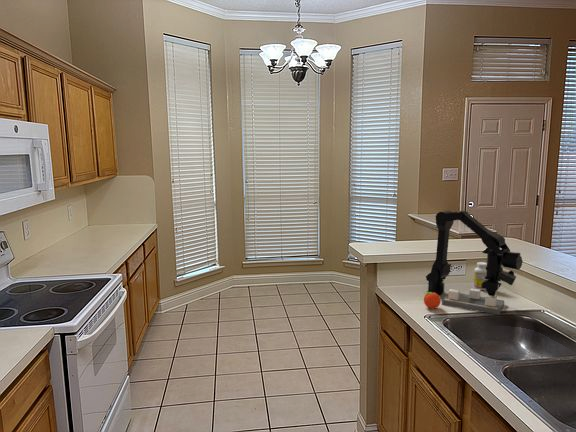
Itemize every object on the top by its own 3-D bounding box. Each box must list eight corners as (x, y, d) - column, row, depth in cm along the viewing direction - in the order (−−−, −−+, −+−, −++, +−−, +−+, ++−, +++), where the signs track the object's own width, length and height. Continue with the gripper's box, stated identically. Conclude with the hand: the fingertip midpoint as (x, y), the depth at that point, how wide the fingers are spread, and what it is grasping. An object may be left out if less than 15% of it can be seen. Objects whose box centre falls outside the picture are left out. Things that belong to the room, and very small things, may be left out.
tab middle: (469, 297, 193) (469, 290, 192) (470, 295, 195) (471, 288, 195) (478, 299, 191) (479, 291, 190) (480, 297, 193) (480, 289, 192)
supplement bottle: (475, 285, 217) (476, 260, 216) (489, 288, 214) (491, 262, 212) (472, 289, 212) (473, 263, 210) (486, 291, 208) (488, 265, 206)
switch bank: (441, 304, 191) (442, 299, 191) (450, 295, 203) (450, 291, 203) (498, 314, 179) (499, 309, 178) (504, 304, 190) (504, 300, 190)
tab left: (448, 298, 192) (448, 290, 192) (450, 296, 195) (450, 288, 194) (457, 300, 190) (458, 292, 189) (459, 298, 192) (459, 290, 192)
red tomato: (419, 309, 186) (420, 293, 185) (422, 303, 192) (422, 288, 191) (439, 311, 183) (439, 295, 182) (441, 306, 189) (441, 290, 188)
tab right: (484, 304, 184) (485, 296, 183) (486, 302, 186) (486, 294, 186) (495, 306, 182) (495, 298, 181) (496, 304, 184) (496, 296, 183)
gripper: (512, 272, 172) (509, 310, 174) (518, 262, 187) (515, 297, 189) (482, 268, 178) (480, 305, 180) (490, 259, 193) (488, 292, 196)
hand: (491, 299), depth 186 cm, fingers closed
